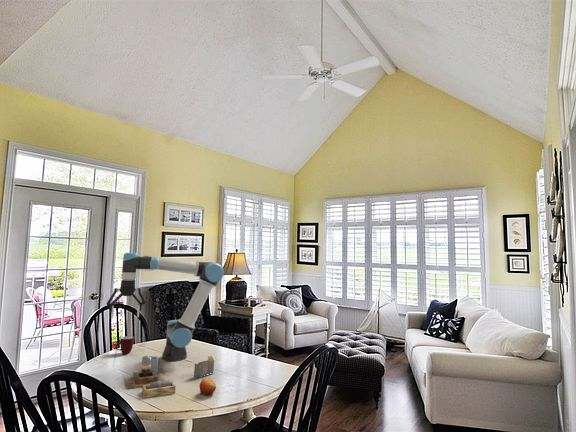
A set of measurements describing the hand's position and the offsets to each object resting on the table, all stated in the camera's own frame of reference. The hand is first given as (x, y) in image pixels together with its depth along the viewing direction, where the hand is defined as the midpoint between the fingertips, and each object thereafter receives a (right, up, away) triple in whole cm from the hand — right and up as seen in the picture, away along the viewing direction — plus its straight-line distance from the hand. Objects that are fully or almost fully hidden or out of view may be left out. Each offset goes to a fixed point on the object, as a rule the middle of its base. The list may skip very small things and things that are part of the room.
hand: (125, 317), depth 202 cm
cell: (+19, -27, -19) cm, 38 cm away
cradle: (+19, -28, -19) cm, 39 cm away
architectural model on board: (+46, -31, -6) cm, 56 cm away
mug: (-12, -31, +25) cm, 42 cm away
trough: (+31, -27, -32) cm, 52 cm away
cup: (+16, -29, -3) cm, 34 cm away
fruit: (+54, -29, -31) cm, 68 cm away
